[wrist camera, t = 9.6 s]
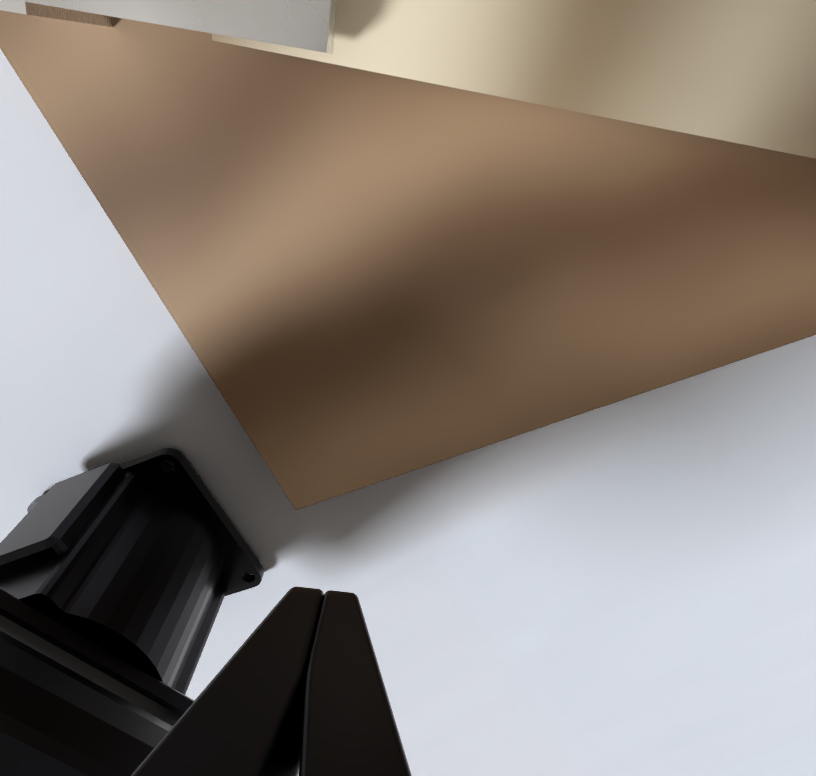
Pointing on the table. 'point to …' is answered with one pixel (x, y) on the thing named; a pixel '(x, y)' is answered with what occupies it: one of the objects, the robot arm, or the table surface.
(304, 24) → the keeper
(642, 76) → the link
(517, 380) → the board
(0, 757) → the robot arm
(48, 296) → the table surface
